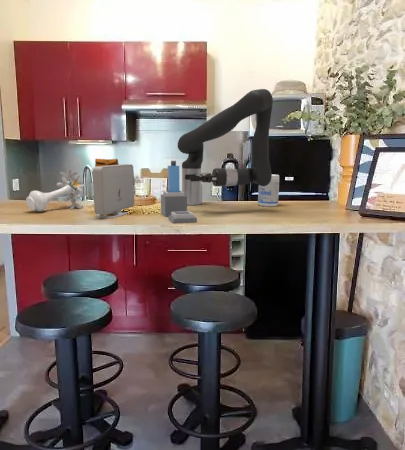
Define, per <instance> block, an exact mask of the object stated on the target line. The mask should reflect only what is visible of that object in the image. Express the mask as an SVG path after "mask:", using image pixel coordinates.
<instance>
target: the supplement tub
mask: <svg viewBox="0 0 405 450" xmlns="http://www.w3.org/2000/svg"><path fill="white" fill-rule="evenodd" d="M279 191H280V175H279V174H272V178H271V181H270V183H269V184H268V185H267V186H260V185H258V191H257V193H258V194H257V195H258V196H257V204H258V206H260V207H265V208H266V207H277V206H278V205H279V196H280V195H279Z"/></svg>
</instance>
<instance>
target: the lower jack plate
mask: <svg viewBox="0 0 405 450" xmlns="http://www.w3.org/2000/svg"><path fill="white" fill-rule="evenodd" d="M167 219H168V221H170V222H171V223H172V224H185V223H187V224H188V223H189V222H191V223H197V222H198V218H197V217H196V216H195V213H193V212H191V211H190V210H187V211H180V212H171V215H168V217H167Z"/></svg>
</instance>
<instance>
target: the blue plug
mask: <svg viewBox="0 0 405 450" xmlns="http://www.w3.org/2000/svg"><path fill="white" fill-rule="evenodd" d="M180 189H181V188H180V165H177V160H170V165H167V191H168V193H171V192H180V191H181V190H180Z"/></svg>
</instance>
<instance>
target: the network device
mask: <svg viewBox="0 0 405 450" xmlns="http://www.w3.org/2000/svg"><path fill="white" fill-rule="evenodd" d="M134 176H135V175H134V165H133V164H129V163H127V164H119V165H110V166H98V167H95V166H94V167H93V168H92V183H93V184H92V187H93V188H92V189H93V208H94V213H95V214H96V215H95V217H96V218H100V219H116V218H120V217H122V216H126V215H128V214H127V213H128V212H125V211H124V212H123V211H121V210H122V209H123V210H127V209H129V208H132V207H134V205H135V186H134V185H135V181H134V179H135V177H134ZM106 214H113V215H106Z"/></svg>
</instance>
